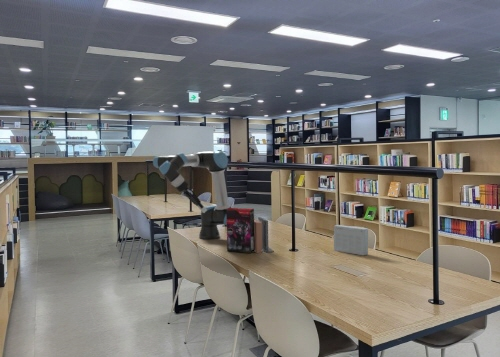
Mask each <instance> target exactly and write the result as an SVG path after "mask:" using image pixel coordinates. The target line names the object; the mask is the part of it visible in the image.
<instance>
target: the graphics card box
mask: <svg viewBox="0 0 500 357" xmlns="http://www.w3.org/2000/svg"><path fill="white" fill-rule="evenodd" d="M226 218H227V225H226V247H227V248H226V251H227V252H233V253H246V254H251V253H253V252H255V240H254V219H255V209H254V208H243V207H241V208H239V207H237V208H236V207H231V208H228V209H227V210H226Z"/></svg>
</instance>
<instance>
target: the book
mask: <svg viewBox="0 0 500 357" xmlns="http://www.w3.org/2000/svg"><path fill="white" fill-rule="evenodd" d="M254 240H255V251H254V252H255V253H256V254H259V253H261V254H262V253H263V250H262V222H260V221H258V219H256V218H254Z"/></svg>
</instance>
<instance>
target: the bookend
mask: <svg viewBox="0 0 500 357" xmlns="http://www.w3.org/2000/svg"><path fill="white" fill-rule="evenodd" d="M257 220H258V221H260V222H262V252H265V253H275V250H274V249H272V248H270V247H269V220H267V219H265V218H264V217H262V216H258V218H257Z"/></svg>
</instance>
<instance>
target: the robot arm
mask: <svg viewBox="0 0 500 357" xmlns="http://www.w3.org/2000/svg"><path fill="white" fill-rule="evenodd" d="M228 162H229V159H228V156H227V154H226V153H225V152H224V151H222V150H221V151H219V150H211V151H209V150H208V151H200V152H194V153H193V152H192V153H190V154H185V153H182V152H178V153H177V154H175V155H158V156H154V158H153V160H152V164H153V167H154V168H156V169H159V171H160V173H161V174H162V176H164V177H165V178H166V180H168V182H169V183H170V185H171V186H173V187H175V189H176V190H177V191H178V193H181V192H182V193H183V195H184V196H185V197H186V198H187V199H188V200H189V201H191V202H192V203H193V204H194V205H195V206H196V207H197V208H198V209H199V210H200V220H201V222H200V223H201V226H200V227H201V228H200V230H199V234H198V236H199V239H202V240H214V239H218V238H220V236H221V235H220V231H219V229H218V225H224V226H227V218H226V210H227V209H228V208H232V205H231V204H230V203H229V198H228V192H227V185H226V178H225V170H226V168H227V167H228V164H229V163H228ZM190 166H191V167H192V168H204V169H208V172H209V173H210V174H211V178H212V183H213V184H212V185H213V190H214V196H215V204H216V205H209V206H204V205H203V203H202V201H201V200H200V199H199V197H198V196H197V195H196V193H195V192H194V190H192V189H191V188H189V187H188V186H189V184H190V183H188V181H187V180H186V179H185V178H184V177H183V175H182V174H181V173H179V171H180V170H181V169H182V168H183V167H190Z"/></svg>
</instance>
